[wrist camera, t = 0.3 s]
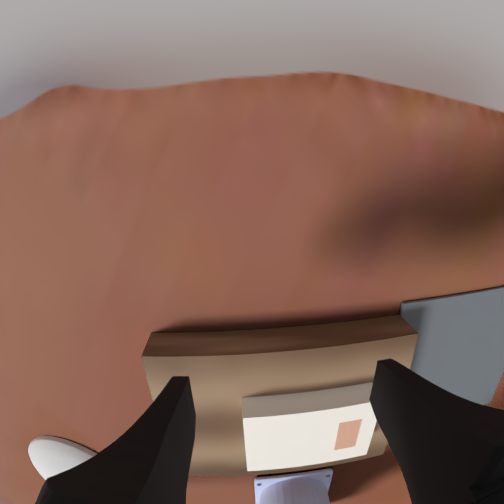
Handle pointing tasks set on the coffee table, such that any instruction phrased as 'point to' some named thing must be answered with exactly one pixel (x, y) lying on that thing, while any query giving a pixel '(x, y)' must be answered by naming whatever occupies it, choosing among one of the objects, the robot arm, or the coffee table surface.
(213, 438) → the brown box
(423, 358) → the mat
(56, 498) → the robot arm
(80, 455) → the candlestick
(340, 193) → the coffee table surface
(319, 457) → the white box with patch
